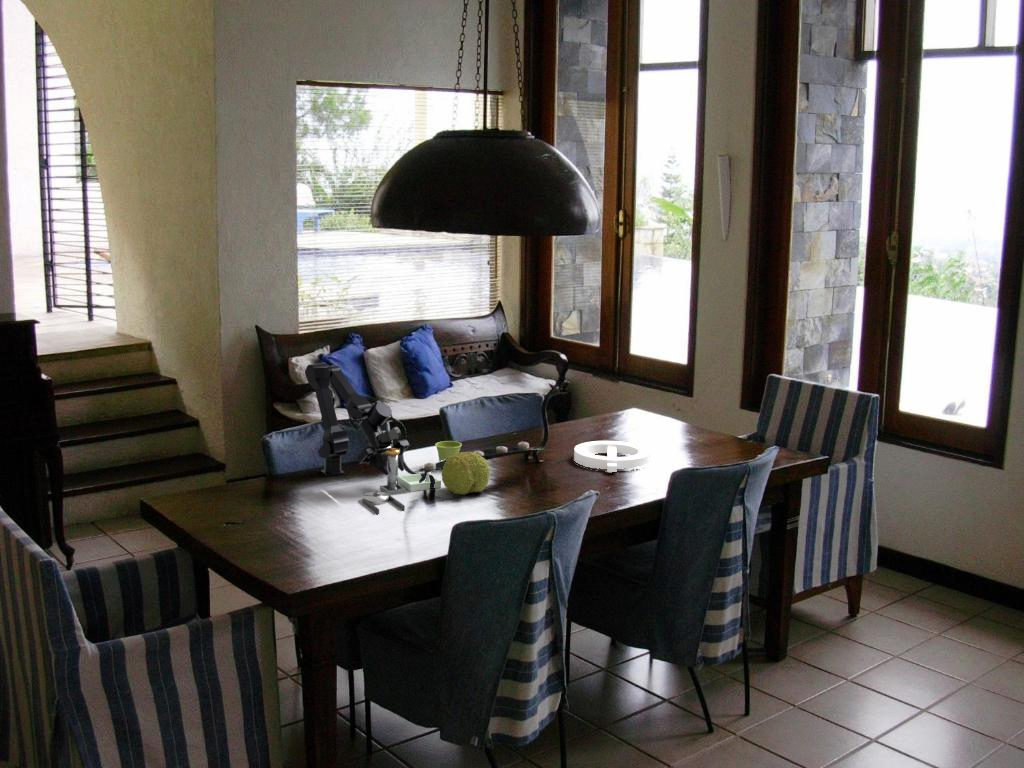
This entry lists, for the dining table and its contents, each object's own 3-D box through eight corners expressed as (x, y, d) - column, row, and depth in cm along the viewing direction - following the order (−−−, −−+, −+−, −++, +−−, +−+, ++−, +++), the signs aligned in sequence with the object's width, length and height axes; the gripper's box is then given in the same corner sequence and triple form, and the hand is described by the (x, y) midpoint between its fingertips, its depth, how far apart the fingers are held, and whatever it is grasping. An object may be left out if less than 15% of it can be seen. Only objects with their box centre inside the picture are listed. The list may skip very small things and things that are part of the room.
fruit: (472, 503, 364) (450, 462, 362) (447, 508, 375) (426, 469, 373) (505, 478, 374) (484, 439, 372) (480, 484, 385) (459, 446, 384)
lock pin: (383, 489, 374) (383, 448, 372) (396, 487, 377) (396, 447, 374) (388, 493, 370) (388, 452, 368) (402, 491, 373) (402, 450, 370)
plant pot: (449, 472, 399) (450, 448, 397) (429, 467, 404) (430, 444, 402) (466, 467, 406) (467, 444, 404) (446, 462, 411) (447, 439, 410)
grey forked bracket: (358, 500, 364) (358, 491, 363) (385, 497, 368) (385, 487, 367) (376, 515, 350) (376, 505, 349) (404, 511, 354) (404, 501, 354)
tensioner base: (374, 490, 375) (374, 485, 375) (399, 487, 380) (399, 482, 379) (385, 497, 368) (385, 492, 367) (410, 494, 372) (410, 489, 372)
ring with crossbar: (611, 449, 438) (612, 437, 437) (665, 464, 417) (665, 452, 416) (558, 460, 420) (558, 447, 419) (611, 477, 399) (612, 464, 398)
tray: (397, 484, 382) (397, 476, 382) (427, 481, 388) (427, 472, 387) (410, 493, 373) (410, 484, 372) (440, 489, 378) (440, 480, 378)
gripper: (362, 424, 365) (384, 464, 360) (406, 416, 378) (428, 454, 373) (347, 443, 372) (369, 482, 366) (390, 434, 385) (412, 472, 380)
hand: (395, 472), depth 371 cm, fingers open, 6 cm apart
